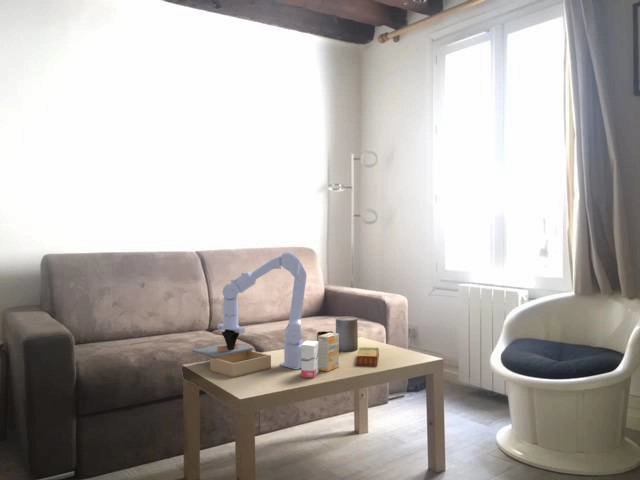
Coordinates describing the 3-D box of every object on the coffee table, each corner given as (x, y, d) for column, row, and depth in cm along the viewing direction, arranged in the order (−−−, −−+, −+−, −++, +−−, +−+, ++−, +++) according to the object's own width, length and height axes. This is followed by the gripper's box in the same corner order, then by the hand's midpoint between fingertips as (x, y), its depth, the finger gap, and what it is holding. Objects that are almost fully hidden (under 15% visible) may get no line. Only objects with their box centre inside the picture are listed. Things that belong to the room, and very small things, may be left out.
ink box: (314, 378, 199) (314, 345, 199) (300, 377, 200) (300, 344, 200) (318, 372, 208) (318, 340, 207) (306, 371, 209) (306, 339, 208)
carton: (356, 366, 217) (356, 355, 217) (358, 356, 233) (358, 346, 233) (377, 367, 216) (377, 356, 216) (378, 357, 232) (378, 347, 232)
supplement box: (328, 372, 208) (328, 337, 207) (317, 370, 210) (317, 335, 210) (339, 367, 215) (339, 333, 214) (328, 365, 217) (328, 332, 217)
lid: (252, 349, 220) (252, 342, 220) (214, 358, 207) (214, 350, 207) (230, 344, 230) (230, 337, 230) (192, 351, 217) (192, 344, 217)
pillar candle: (356, 346, 251) (356, 313, 251) (359, 351, 241) (358, 316, 241) (334, 346, 251) (334, 313, 250) (336, 351, 241) (336, 317, 240)
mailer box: (270, 368, 213) (270, 355, 213) (232, 377, 200) (232, 363, 200) (247, 362, 222) (247, 349, 222) (210, 370, 210) (210, 357, 209)
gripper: (211, 313, 217) (211, 348, 217) (233, 318, 207) (234, 354, 207) (225, 311, 222) (226, 345, 222) (248, 315, 212) (249, 351, 212)
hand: (230, 349), depth 215 cm, fingers closed
